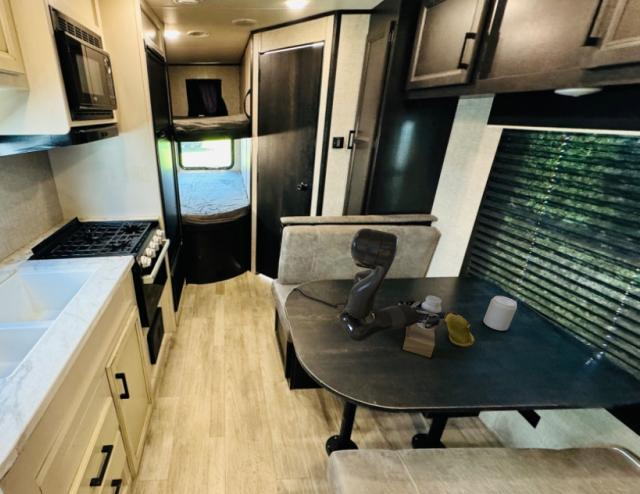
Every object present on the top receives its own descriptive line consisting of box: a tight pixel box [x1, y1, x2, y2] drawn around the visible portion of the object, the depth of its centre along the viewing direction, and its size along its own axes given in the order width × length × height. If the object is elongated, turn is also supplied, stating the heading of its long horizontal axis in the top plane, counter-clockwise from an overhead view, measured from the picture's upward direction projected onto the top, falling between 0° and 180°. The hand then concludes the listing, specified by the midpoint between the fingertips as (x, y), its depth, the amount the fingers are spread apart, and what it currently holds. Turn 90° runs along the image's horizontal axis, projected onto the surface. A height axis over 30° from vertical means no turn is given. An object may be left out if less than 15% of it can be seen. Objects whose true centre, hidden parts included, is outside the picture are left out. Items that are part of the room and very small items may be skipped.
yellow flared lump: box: [444, 311, 476, 348], centre depth 115 cm, size 12×8×15 cm
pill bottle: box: [417, 295, 443, 331], centre depth 110 cm, size 6×6×11 cm
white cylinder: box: [483, 295, 518, 332], centre depth 125 cm, size 8×8×12 cm
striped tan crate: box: [402, 323, 436, 358], centre depth 120 cm, size 20×9×8 cm, turn 152°
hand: (435, 309), depth 110 cm, fingers closed on pill bottle, 6 cm apart
